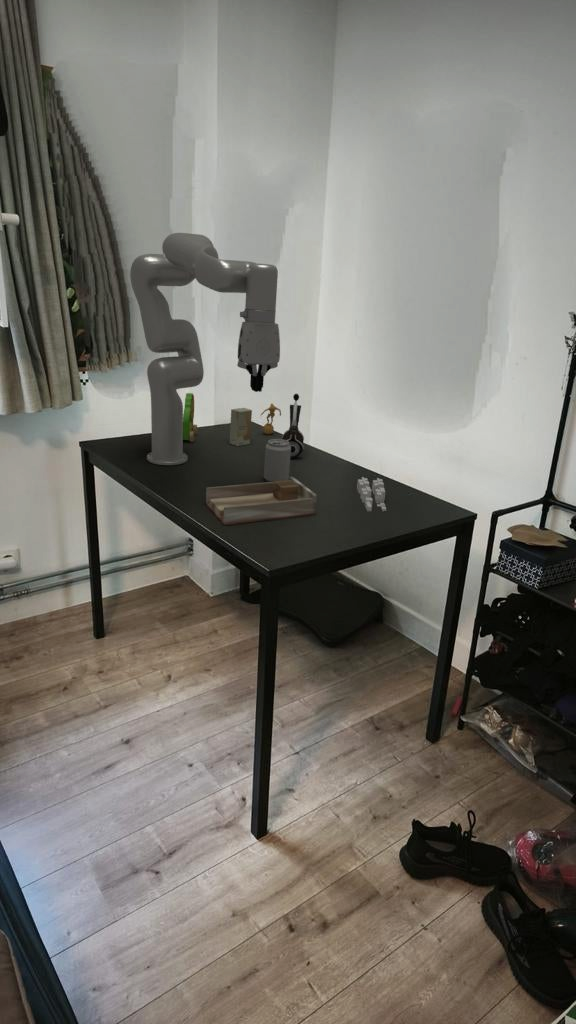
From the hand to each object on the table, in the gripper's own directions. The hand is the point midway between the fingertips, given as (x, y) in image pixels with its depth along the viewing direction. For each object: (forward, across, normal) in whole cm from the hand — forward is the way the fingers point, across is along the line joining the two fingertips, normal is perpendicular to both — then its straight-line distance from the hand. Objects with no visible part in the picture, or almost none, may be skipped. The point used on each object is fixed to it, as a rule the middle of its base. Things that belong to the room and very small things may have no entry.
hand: (256, 390), depth 164 cm
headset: (+29, +28, +33) cm, 52 cm away
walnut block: (+27, +6, -10) cm, 29 cm away
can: (+29, +12, +10) cm, 33 cm away
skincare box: (+29, +15, +48) cm, 58 cm away
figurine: (+29, +30, +57) cm, 71 cm away
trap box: (+29, -2, -10) cm, 31 cm away
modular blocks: (+30, +32, -12) cm, 45 cm away
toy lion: (+29, 0, +60) cm, 67 cm away
